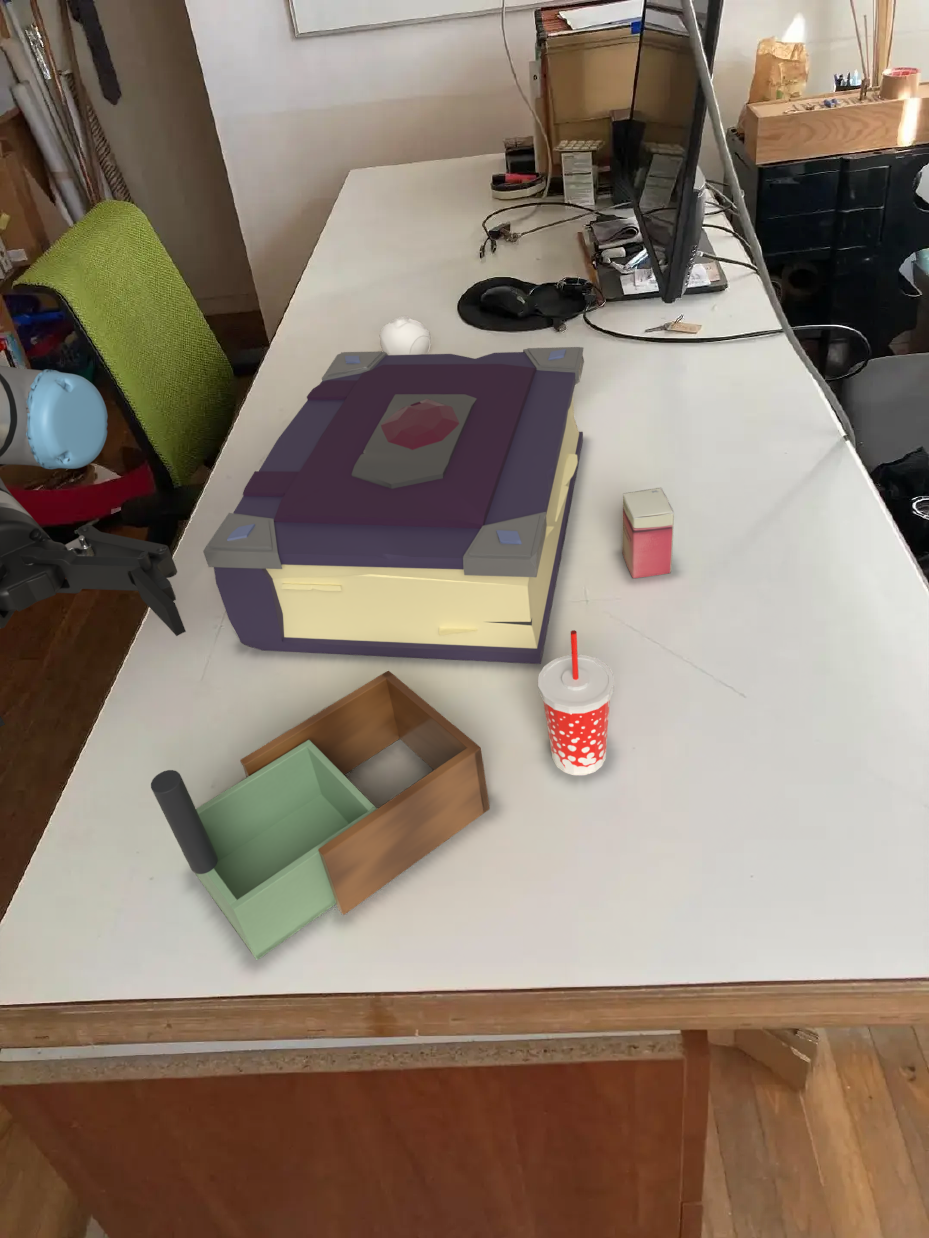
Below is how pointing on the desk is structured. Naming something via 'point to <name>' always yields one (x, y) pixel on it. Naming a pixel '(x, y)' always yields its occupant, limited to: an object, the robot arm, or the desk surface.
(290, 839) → the green open box
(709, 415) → the desk surface
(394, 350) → the white lumpy ball
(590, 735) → the beverage cup
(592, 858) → the desk surface
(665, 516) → the small box
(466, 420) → the book
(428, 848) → the wooden drawer casing
